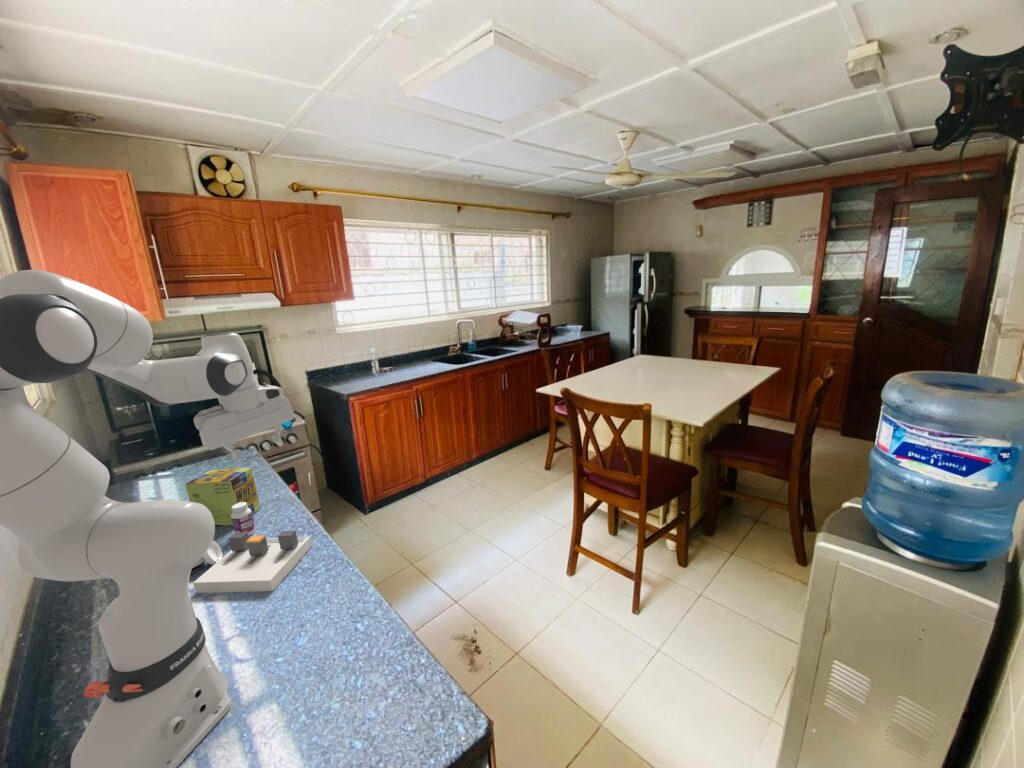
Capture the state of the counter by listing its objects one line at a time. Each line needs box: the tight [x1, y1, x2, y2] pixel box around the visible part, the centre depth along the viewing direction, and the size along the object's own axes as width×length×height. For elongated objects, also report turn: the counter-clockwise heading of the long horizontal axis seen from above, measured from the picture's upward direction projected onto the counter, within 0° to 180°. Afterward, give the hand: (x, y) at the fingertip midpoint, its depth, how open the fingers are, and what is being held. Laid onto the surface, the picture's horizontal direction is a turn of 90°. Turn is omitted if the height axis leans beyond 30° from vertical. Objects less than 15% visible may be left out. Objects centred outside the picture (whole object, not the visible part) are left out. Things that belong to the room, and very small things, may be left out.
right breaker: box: [277, 530, 298, 549], centre depth 111 cm, size 2×4×4 cm, turn 86°
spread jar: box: [191, 539, 223, 573], centre depth 111 cm, size 12×11×12 cm
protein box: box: [184, 467, 262, 526], centre depth 136 cm, size 10×15×16 cm
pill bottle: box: [231, 502, 256, 536], centre depth 126 cm, size 5×5×10 cm
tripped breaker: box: [246, 534, 269, 556], centre depth 109 cm, size 2×4×4 cm, turn 87°
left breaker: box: [228, 532, 250, 551], centre depth 112 cm, size 2×4×4 cm, turn 86°
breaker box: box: [192, 536, 313, 594], centre depth 109 cm, size 18×20×3 cm
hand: (258, 449), depth 103 cm, fingers open, 8 cm apart
